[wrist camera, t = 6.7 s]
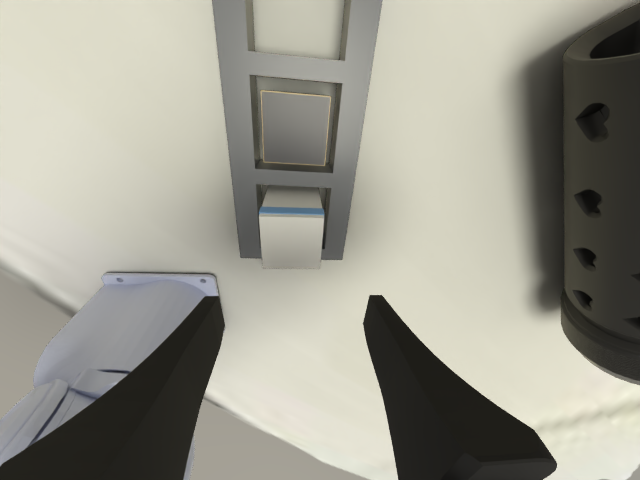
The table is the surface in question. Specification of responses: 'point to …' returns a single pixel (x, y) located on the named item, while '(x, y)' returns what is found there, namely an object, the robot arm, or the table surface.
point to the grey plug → (291, 227)
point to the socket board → (294, 118)
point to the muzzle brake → (603, 195)
